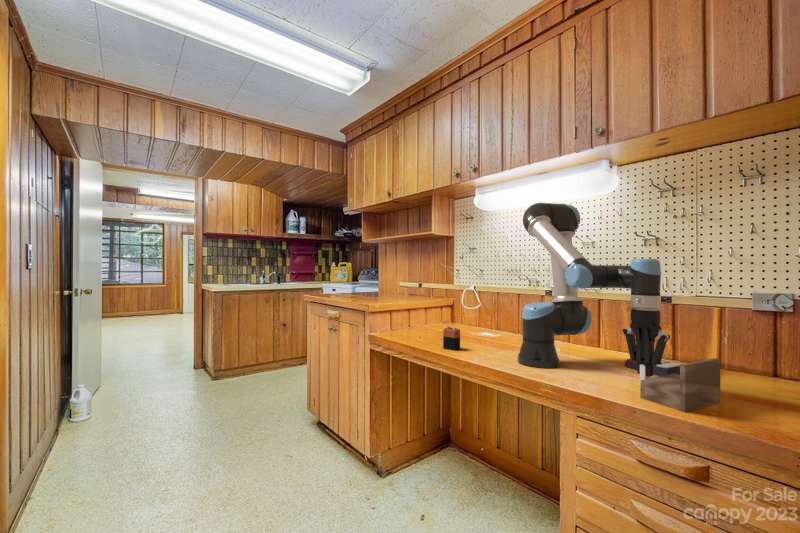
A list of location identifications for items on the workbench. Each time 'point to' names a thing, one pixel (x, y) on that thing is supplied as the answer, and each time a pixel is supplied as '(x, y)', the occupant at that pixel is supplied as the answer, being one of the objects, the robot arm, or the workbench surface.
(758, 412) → the workbench surface
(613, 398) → the workbench surface
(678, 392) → the brown wooden l-shaped block
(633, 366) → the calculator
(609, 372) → the workbench surface
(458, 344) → the battery
